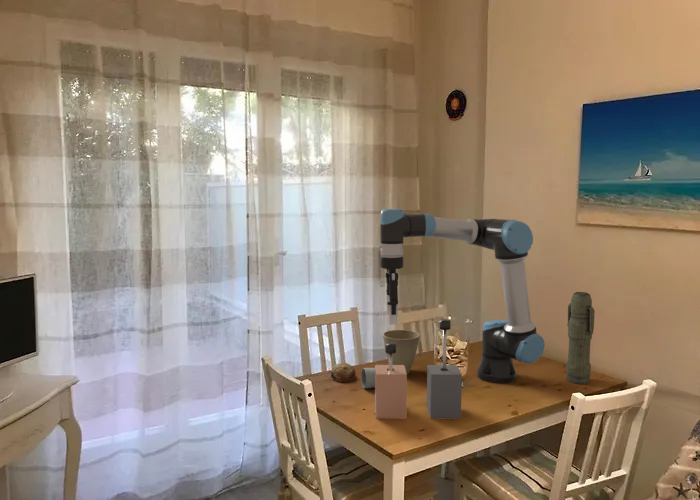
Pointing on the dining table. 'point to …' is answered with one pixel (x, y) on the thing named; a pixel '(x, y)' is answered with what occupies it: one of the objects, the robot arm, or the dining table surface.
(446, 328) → the charcoal plunger
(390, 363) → the plunger
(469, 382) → the dining table surface
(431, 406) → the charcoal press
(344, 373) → the bread roll
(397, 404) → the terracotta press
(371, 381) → the ceramic mug
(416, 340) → the plant pot
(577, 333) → the thermos
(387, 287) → the robot arm
